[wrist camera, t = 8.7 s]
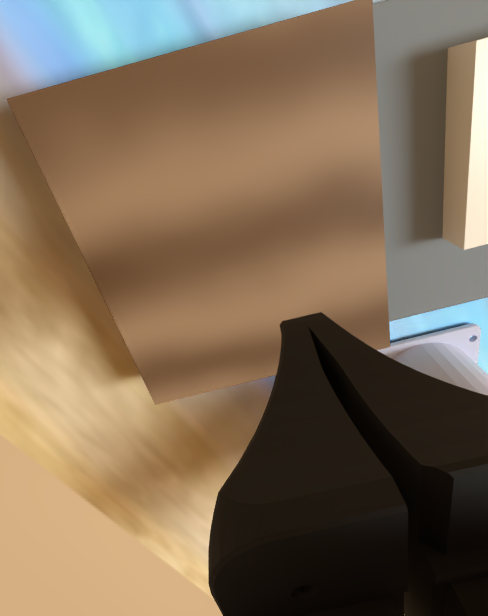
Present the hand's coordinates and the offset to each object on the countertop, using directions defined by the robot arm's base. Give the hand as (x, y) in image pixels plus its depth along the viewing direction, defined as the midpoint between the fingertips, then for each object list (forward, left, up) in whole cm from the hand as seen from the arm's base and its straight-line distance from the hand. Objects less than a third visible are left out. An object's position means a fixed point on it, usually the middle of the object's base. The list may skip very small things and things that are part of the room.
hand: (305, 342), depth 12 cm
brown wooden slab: (+1, +1, -10) cm, 10 cm away
